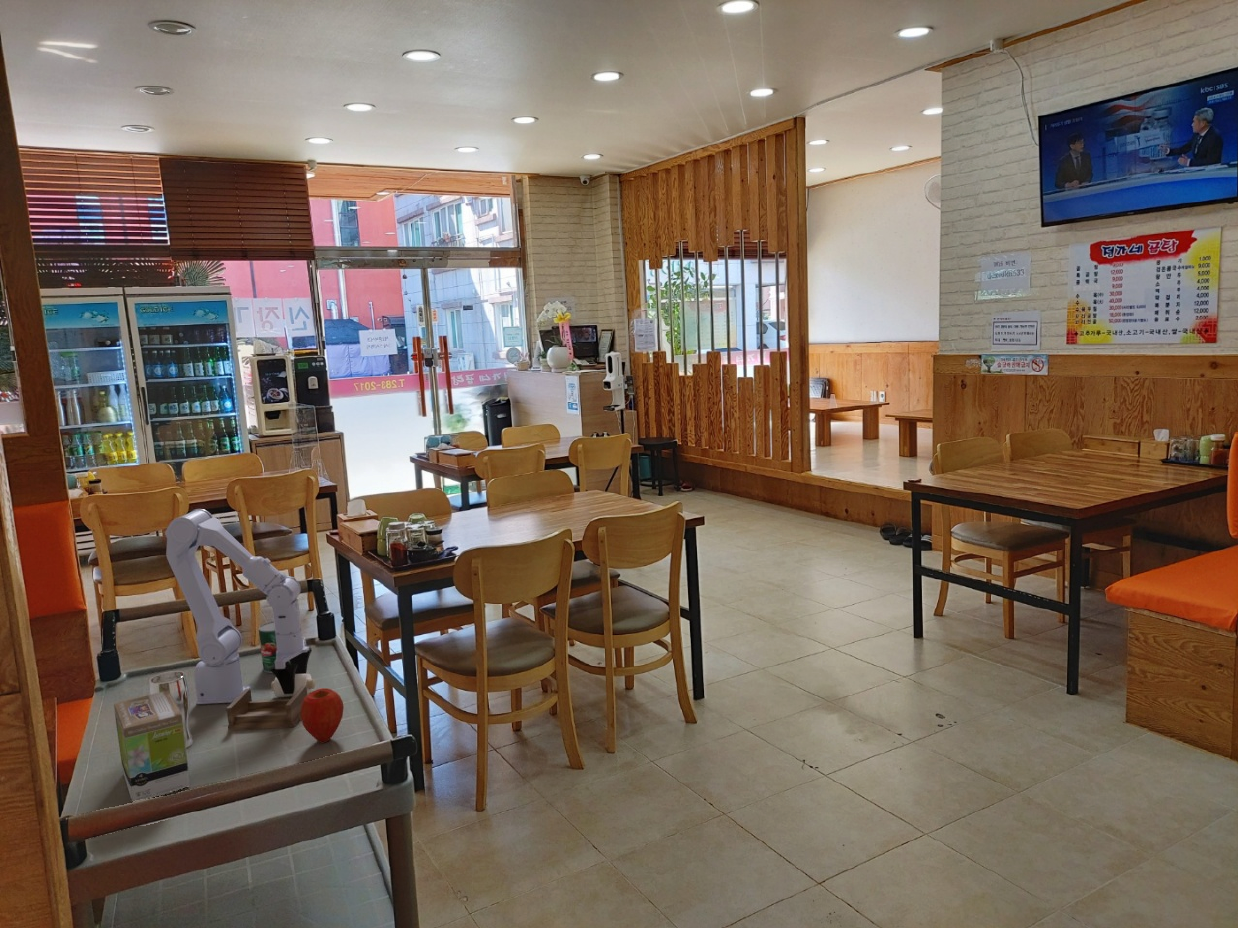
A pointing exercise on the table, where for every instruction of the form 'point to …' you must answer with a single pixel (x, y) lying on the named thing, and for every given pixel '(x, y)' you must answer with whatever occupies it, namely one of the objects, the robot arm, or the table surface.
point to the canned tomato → (268, 645)
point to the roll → (299, 681)
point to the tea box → (152, 745)
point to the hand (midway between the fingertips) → (294, 686)
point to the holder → (264, 711)
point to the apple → (322, 713)
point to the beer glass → (175, 695)
